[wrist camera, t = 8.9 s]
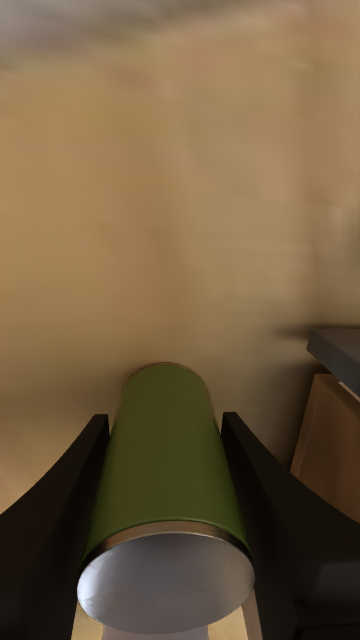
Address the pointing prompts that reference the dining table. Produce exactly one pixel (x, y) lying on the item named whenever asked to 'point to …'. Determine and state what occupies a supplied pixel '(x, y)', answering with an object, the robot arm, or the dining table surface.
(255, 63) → the dining table surface
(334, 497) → the drawer
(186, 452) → the tin can
